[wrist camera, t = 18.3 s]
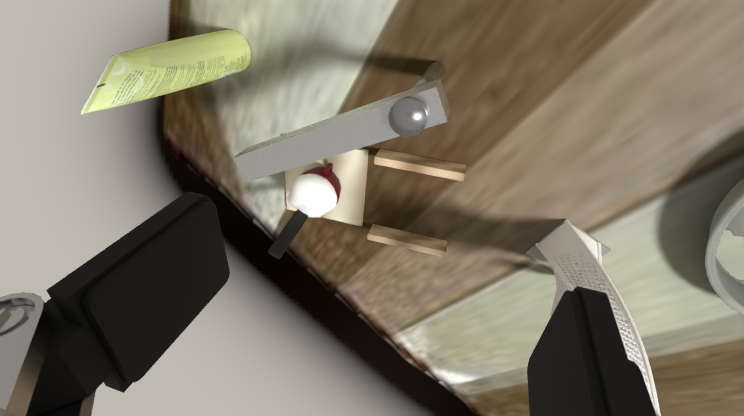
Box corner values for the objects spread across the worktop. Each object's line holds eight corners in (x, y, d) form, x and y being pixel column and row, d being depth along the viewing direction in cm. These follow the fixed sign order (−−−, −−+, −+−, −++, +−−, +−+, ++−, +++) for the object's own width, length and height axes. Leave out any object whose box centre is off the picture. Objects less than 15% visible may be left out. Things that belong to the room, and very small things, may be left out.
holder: (466, 164, 45) (464, 173, 43) (446, 246, 52) (444, 257, 50) (380, 148, 47) (374, 156, 45) (372, 229, 54) (367, 239, 52)
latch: (455, 48, 38) (434, 88, 25) (462, 74, 40) (446, 126, 26) (305, 106, 47) (227, 160, 33) (315, 126, 48) (243, 187, 34)
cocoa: (331, 148, 49) (291, 185, 39) (361, 184, 50) (330, 229, 40) (287, 183, 53) (241, 225, 43) (315, 215, 55) (277, 263, 45)
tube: (213, 19, 44) (55, 44, 28) (251, 26, 43) (111, 56, 27) (218, 68, 47) (79, 114, 31) (254, 75, 46) (129, 127, 31)
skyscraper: (516, 245, 49) (536, 476, 26) (563, 205, 45) (636, 444, 22) (566, 278, 50) (628, 533, 27) (617, 242, 45) (745, 513, 22)
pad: (368, 150, 47) (367, 151, 47) (362, 224, 54) (361, 226, 54) (284, 134, 50) (282, 135, 49) (288, 207, 56) (287, 209, 56)
